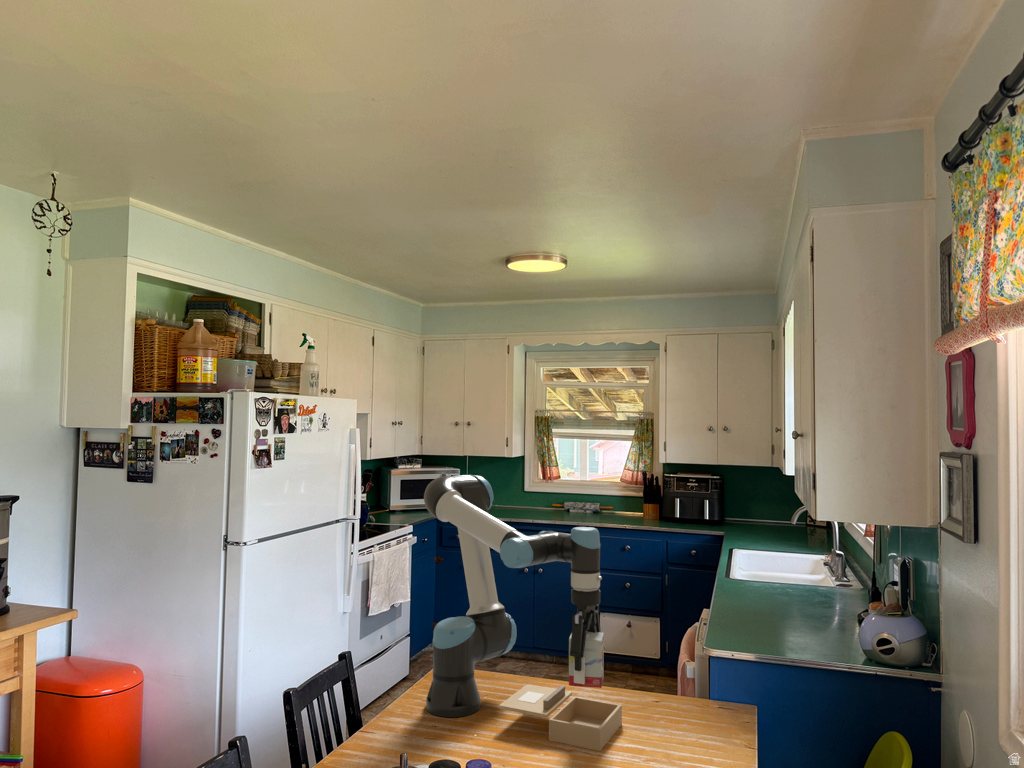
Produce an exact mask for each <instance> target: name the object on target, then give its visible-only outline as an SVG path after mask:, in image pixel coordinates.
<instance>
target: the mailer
mask: <svg viewBox="0 0 1024 768" xmlns="http://www.w3.org/2000/svg"><path fill="white" fill-rule="evenodd" d="M622 711H623V705H622V704H620V703H612V702H609V701H608V702H607V701H602V700H596V699H590V698H585V697H579V696H573V697H572V698H570V700H568V701H567V702H566V703H565V704H564V705H563V706H562V707H560V708H559V710H557V711H556V712H555V713H554V714H553V715H552V716H551V717H550V718H549V719H548V741H551V742H554V743H555V742H556V743H559V744H564V745H569V746H574V747H579V748H584V749H589V750H593V751H598V752H601V751H602V750H603V749H604V747H605V746H606V745H608V744H607V743H608V742H609V741H610V740H611V739H612V737H613V736H614V735H615V734H616V733H617V732H618V730H619V729H620V728H621V726H622V725H623V713H622ZM619 727H620V728H619Z"/></svg>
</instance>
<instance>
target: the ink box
mask: <svg viewBox="0 0 1024 768" xmlns="http://www.w3.org/2000/svg"><path fill="white" fill-rule="evenodd" d="M604 634H605V633H604V631H603V632H602V631H601V632H595V633H594V632H588V631H587V635H586V640H585V648H584V654H583V657H585V684H578V683H574V657H573V656H570V648H571V636H572V632H571V633H570V635H569V638H568V686H570V687H579V688H580V687H584V688H597V689H598V688H599V689H601V688H602V687H603V681H604V674H605V673H604V668H605V667H604V664H605V663H604V662H605V661H604V659H605V658H604V655H605V654H604V653H605V651H604V650H605V649H604V647H605V646H604V645H605V644H604V643H605V641H604V636H605V635H604ZM576 652H577V651H576Z"/></svg>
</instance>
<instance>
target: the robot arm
mask: <svg viewBox="0 0 1024 768" xmlns="http://www.w3.org/2000/svg"><path fill="white" fill-rule="evenodd" d="M494 497H495V496H494V491H493V489H492V485H491V483H490V482H489V481H488V480H487V479H485V478H484V477H483V476H481V475H475V474H474V475H473V474H462V475H449V476H448V475H447V476H444V475H443V476H439V477H437V478H435V479H433V480H432V481H430V482H429V483H428V484H427V486H426V488H425V490H424V493H423V502H424V506H425V508H426V510H427V511H428V512H429V513H430V514H431V515H432V517H434V518H436V519H437V520H439V521H441V522H443V523H448V522H449V523H450V524H452V525H454V526H455V527H456V528H457V532H458V538H459V539H458V540H459V544H460V551H461V558H462V564H463V565H462V566H463V570H464V576H465V583H466V589H467V596H468V602H469V609H468V610H467V612H466V614H465V616H463V615H460V616H455V617H454V616H452V617H451V616H450V617H447V618H445V619H442V620H440V621H439V622H438V623H436V624H435V626H434V629H433V636H432V637H433V638H432V681H431V682H430V686H429V690H428V693H427V696H426V701H425V709H426V711H427V712H428V713H430V714H431V715H434V716H438V717H441V718H442V717H444V718H461V717H465V716H469V715H473V714H475V713H476V712H478V711H479V710H480V708H481V696H480V695H481V694H480V693H479V688H478V686H477V683H476V679H475V664H477V663H481V662H483V661H487V660H491V659H493V658H499V657H501V656H502V655H505V654H507V653H509V652H510V651H511V650H512V649H513V647H514V645H515V644H516V640H517V632H518V631H517V624H516V623H515V622H516V621H515V620H514V618H512V616H511V615H510V614H509V613H507V612H506V608H505V606H504V605H503V604H502V603H501V602H500V601H499V598H498V592H497V586H496V582H495V580H496V579H495V574H494V568H493V563H492V562H493V561H492V556H491V551H490V550H491V549H493V550H494V551H495V552H497V553H499V555H500V559H501V561H502V563H503V564H504V566H506V567H507V568H509V569H510V568H511V569H523V568H527V567H531V566H535V565H540V564H541V565H542V564H547V563H552V562H564V563H567V564H568V563H569V564H570V570H571V571H570V586H571V592H570V593H571V597H570V598H571V601H570V602H571V603H572V604H573V605H575V606H576V607H577V609H576V614H572V616H571V624H572V625H571V633H572V636H571V648H570V656H573V657H574V683H578V684H585V657H583V654H584V648H585V640H586V635H587V631H588V632H594V633H595V632H602V631H601V630H602V629H601V622H600V605H601V590H600V587H601V581H602V579H603V577H602V576H601V568H600V567H601V564H600V562H601V542H600V541H601V540H600V532H599V530H598V528H595V527H591V526H588V527H587V526H576V527H573V528H571V529H570V530H571V531H570V533H566V532H561V531H560V532H558V531H554V530H541V531H539V532H538V533H537V534H533V535H531V534H530V535H526V534H524V533H522V532H520V531H519V530H517V529H515V528H514V527H512V526H510V525H508V524H507V523H505V522H503V521H502V520H500V519H498V518H497V517H495V516H493V515H491V514H490V513H489V510H490V509H491V508H492V506H493V502H494ZM576 651H577V652H576Z"/></svg>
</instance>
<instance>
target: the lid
mask: <svg viewBox="0 0 1024 768" xmlns="http://www.w3.org/2000/svg"><path fill="white" fill-rule="evenodd" d="M572 695H573V692H572V691H569V690H566V685H560V686H558V688H552V687H547V686H541V685H535V684H529V683H527V684H526V685H524V686H523V687H521V688H520V689H519V690H518V691H516V692H515V693H514V694H512V695H510V696H508V698H507V699H505V700H504V701H503V702H501V703H500V704H499V705H498V709H499V710H504V711H509V712H515V713H521V714H526V715H529V716H530V715H531V716H535V717H541V718H546V719H547V718H548V717H549V716H550V715H552V714H553V713H554V712H555V711H556V710H557V709H558V708H559V707H560V706H561V705H563V704H564V703H565V702H566V701H567V700H568V699H570V697H572Z"/></svg>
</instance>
